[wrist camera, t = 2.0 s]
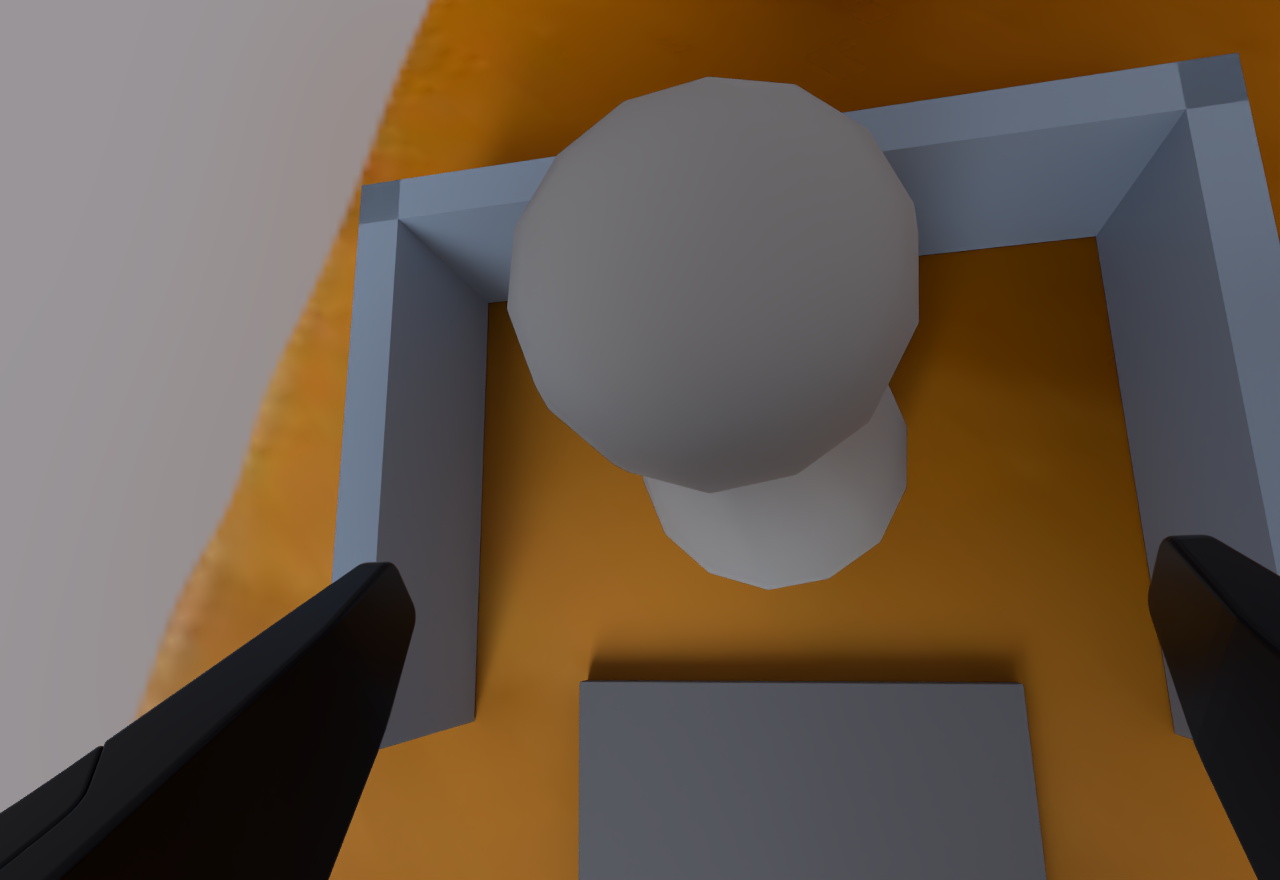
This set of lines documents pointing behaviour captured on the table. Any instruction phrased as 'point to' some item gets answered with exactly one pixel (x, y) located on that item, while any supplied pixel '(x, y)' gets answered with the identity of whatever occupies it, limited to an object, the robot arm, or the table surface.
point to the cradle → (947, 222)
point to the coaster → (806, 781)
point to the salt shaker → (729, 319)
